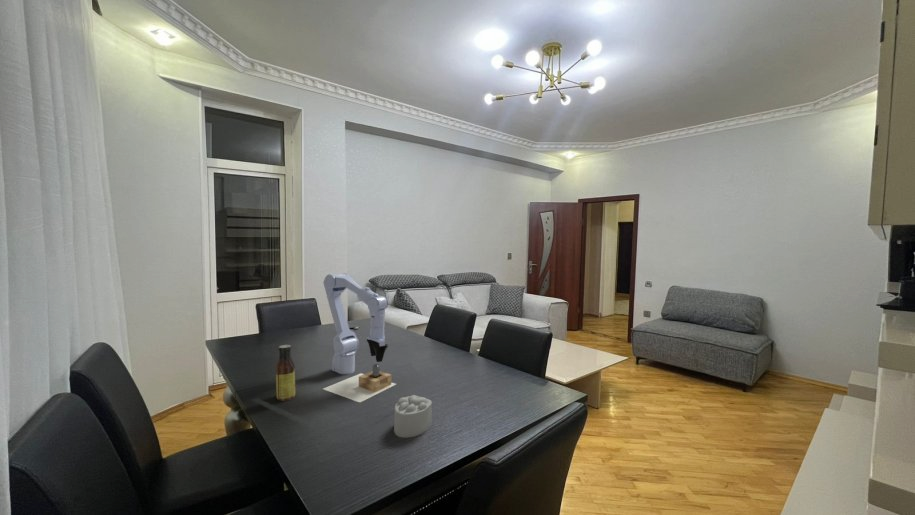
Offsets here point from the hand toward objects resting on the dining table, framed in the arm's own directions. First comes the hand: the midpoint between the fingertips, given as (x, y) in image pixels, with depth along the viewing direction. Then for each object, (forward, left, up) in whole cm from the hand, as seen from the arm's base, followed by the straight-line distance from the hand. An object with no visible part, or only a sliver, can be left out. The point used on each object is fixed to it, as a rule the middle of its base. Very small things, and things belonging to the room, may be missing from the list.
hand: (376, 358), depth 149 cm
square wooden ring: (+3, -4, -9) cm, 11 cm away
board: (-1, -8, -10) cm, 13 cm away
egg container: (+33, -19, -11) cm, 40 cm away
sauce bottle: (-16, -30, -11) cm, 35 cm away
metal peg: (+3, -4, -9) cm, 10 cm away
